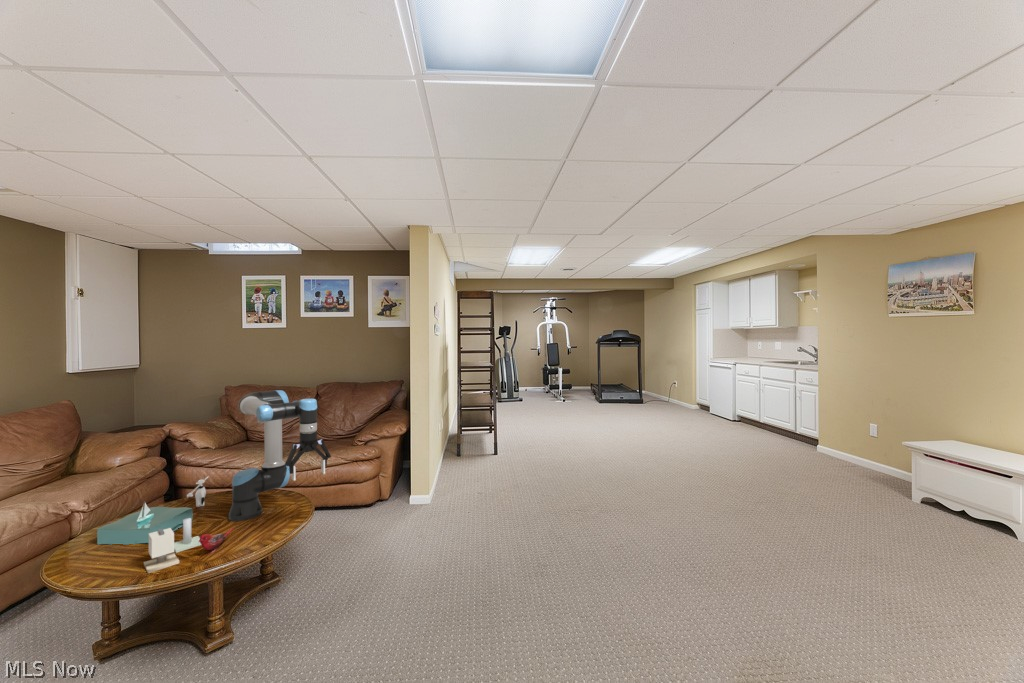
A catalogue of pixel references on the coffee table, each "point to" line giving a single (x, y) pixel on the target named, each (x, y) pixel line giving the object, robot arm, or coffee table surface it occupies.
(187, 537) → the post
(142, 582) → the coffee table surface
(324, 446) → the robot arm
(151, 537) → the white drawer box
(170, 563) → the post
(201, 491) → the cricket player figurine
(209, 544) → the decorative bird figurine
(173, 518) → the sailboat water diorama
